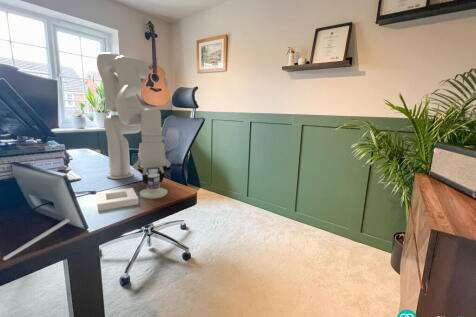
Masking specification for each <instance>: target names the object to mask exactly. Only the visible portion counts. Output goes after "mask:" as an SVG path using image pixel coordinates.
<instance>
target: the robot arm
mask: <svg viewBox="0 0 476 317" xmlns="http://www.w3.org/2000/svg"><path fill="white" fill-rule="evenodd" d="M148 64H149V63H148V62H146V60H145V59H141V58H137V57H134V56H128V55H123V54H119V53H113V52H105V51H104V52H100V53H98V55H97V58H96V67H97V71H98V74H99V76H100V79H101V82H102V86H103V94H104V95H103V96H104V104H105V108H106V110H107V111H109V112H113V113H117V114H110V115H107V116H106V117H105V118H104V120H103V125H104V129H105V134H106V141H107V151H108V152H107V153H108V164H109V172H108V173H107V174H106V178H108V179H110V180H111V179H112V180H122V179H127V178H131V177H133V176H134V172H133V171H132V170H131V165H130V163H131V162H130V147H129V146H130V145H129V141H128V139H127V138H126V137H125V136H124V135H127V134H129V135H130V134H138V133H140V132H141V133H140V134H141V142H139V146H138V156H137V157H138V159H137V161H136V162H135V163H134V164H133V166H132V168H133V169H134V170H136V171H137V172H139V173H140V174H141V175H142V177H141V178H142V182H143V184H144V185H147V172H148V168H153V167H156V168H158V172H157V173H159V174H160V183H163V180H164V173H165V172H166V170H167V169H168V168H169V167H170V166H171V165H172V164H171V162H170V161H169V160H168V159H167V158H166V151H165V145H164V142H163V140H164V141H165V140H166V136H163V135H162V114H161V110H160V109H159V108H153V107H152V108H151V107H143V106H142V107H141V101H140V100H139V97H138V96H137V95H138V94H140V92H142V91H143V88H144V87H143V82H142V80H141V79H148V77H149V75H150V67H149V65H148ZM139 166H140V167H139Z"/></svg>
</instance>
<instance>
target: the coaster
mask: <svg viewBox="0 0 476 317" xmlns="http://www.w3.org/2000/svg"><path fill="white" fill-rule="evenodd" d="M167 195H168V189H167V188H164V187H160V189H158V190H154V191H150V190H147V188H144V189H142V190H140V191H139V197H140V198H142V199H148V200H155V199H161V198H163V197H166V196H167Z"/></svg>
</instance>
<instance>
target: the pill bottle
mask: <svg viewBox="0 0 476 317" xmlns="http://www.w3.org/2000/svg"><path fill="white" fill-rule="evenodd" d="M158 172H159V168H158V167H153V168H147V172H146V175H147V184H146V189H147V190H150V191H154V190H158V189H160V188H161V182H160V174H159V173H158Z"/></svg>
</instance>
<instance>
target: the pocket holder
mask: <svg viewBox="0 0 476 317" xmlns="http://www.w3.org/2000/svg"><path fill="white" fill-rule="evenodd" d="M96 205H97V211H98V212H100V211H101V212H103V211H108V210H113V209H118V208H124V207H129V206H136V205H139V197H138V195H137V194H136V192H135V190H134V188H133V187H129V188H120V189H113V190H106V191H99V192H96Z"/></svg>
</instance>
